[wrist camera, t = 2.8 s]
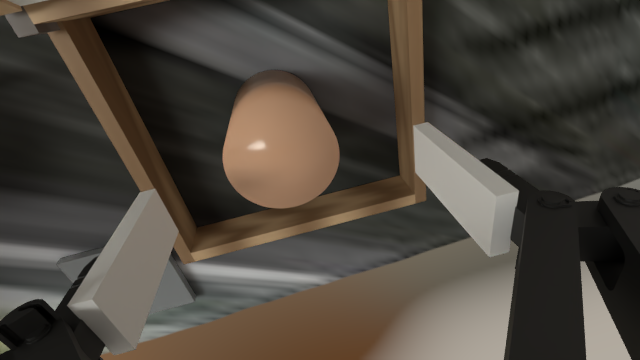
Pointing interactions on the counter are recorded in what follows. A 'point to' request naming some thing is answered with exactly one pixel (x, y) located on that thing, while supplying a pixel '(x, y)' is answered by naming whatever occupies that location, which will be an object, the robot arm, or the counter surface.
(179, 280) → the plate
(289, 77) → the tan rounded cylinder
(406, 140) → the frame
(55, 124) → the counter surface
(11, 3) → the lid
